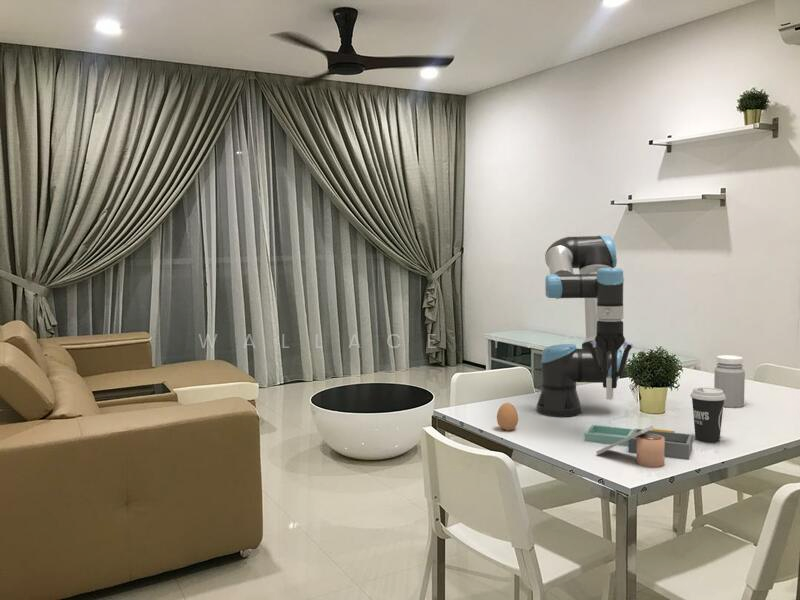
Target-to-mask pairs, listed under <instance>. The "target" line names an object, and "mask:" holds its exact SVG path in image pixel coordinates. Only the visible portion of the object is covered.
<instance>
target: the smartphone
mask: <svg viewBox="0 0 800 600" xmlns="http://www.w3.org/2000/svg"><path fill="white" fill-rule="evenodd" d="M653 428H654V427H653V425H651V426H648V427H646V428H644V429H643V430H641V431H639V432H637V433H635V434H633V435H630V436H628V437H626V438H624V439H622V440H620V441H618V442H615V443H613V444H608V445H607V446H604V447H603V448H601V449H599V450H597V451H595V452H596V454H597V455H599V454H602V453H604V452H606V451H608V450H610V449H612V448H614V447H617V446H619V444H621V443H623V442H626V441H628V440H630V439H632V438H634V437H636V436H638V435H641V434H643V433H645V432H647V431H649V430H652V429H653Z"/></svg>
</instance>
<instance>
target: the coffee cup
mask: <svg viewBox="0 0 800 600" xmlns="http://www.w3.org/2000/svg"><path fill="white" fill-rule="evenodd" d="M689 396H690V398H691V401H692V412H693V413H692V414H693V426H694V437H695V440H696V441H697V442H701V443H705V444H706V443H707V444H716V443H719V442H720V440H721V431H722V430H721V429H722V422H723V421H722V420H723V411H724V407H723V405H724V400H725V399H726V397H725V394H724V393H723V391H722V390H720V389H716V388H714V387H708V386H707V387H706V386H705V387H704V386H703V387H695V388H693V389H692V391H691V393H690V395H689Z"/></svg>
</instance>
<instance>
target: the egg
mask: <svg viewBox="0 0 800 600" xmlns="http://www.w3.org/2000/svg"><path fill="white" fill-rule="evenodd" d="M496 422H497V425H498V426H499V428H501V430H503V429H505V430H504V431H506V430H510V431H512V430H514V429H515V428H516V427H517V426H518V423H519V414H518V411H517V409H516V407H515V406H514V404H512V403H510V402H505V403H503V404H501V405H500V407H499V408H498V410H497V413H496Z"/></svg>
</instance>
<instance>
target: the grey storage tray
mask: <svg viewBox="0 0 800 600" xmlns="http://www.w3.org/2000/svg"><path fill="white" fill-rule="evenodd" d="M633 429H634V431H633V432H632V434H631V435H633V434H635V433H637V432H639V431H641V430H643V429H642V428H633ZM643 434H656V435H660V436H663V437H664V438H665V457H666V458H673V459H684V460H689V459H690V457H691V455H692V451H693V443H694V442H693V441H694V440H693V437H694V436H693V435H694V434H692V433H684V432H683V433H681V432H675V430H673V429H663V428H654V427H653V429H652V430H649V431H647V432H645V433H643ZM666 441H669V442H666ZM675 442H678V443H675ZM684 443H686V444H684ZM636 448H637V436H636V437H634V438H632V439H630V440H629V447H628V453H633V454H636Z"/></svg>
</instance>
